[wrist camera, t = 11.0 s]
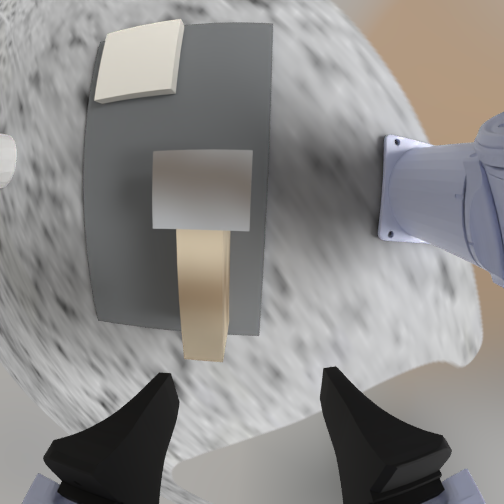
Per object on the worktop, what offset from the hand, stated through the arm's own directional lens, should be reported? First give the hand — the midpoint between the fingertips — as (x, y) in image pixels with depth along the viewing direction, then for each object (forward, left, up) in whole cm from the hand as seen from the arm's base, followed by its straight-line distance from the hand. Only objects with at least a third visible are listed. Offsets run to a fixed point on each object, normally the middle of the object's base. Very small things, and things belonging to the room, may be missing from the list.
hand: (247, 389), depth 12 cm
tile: (+9, -15, -8) cm, 19 cm away
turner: (+3, -5, -9) cm, 10 cm away
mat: (+6, -9, -9) cm, 15 cm away
